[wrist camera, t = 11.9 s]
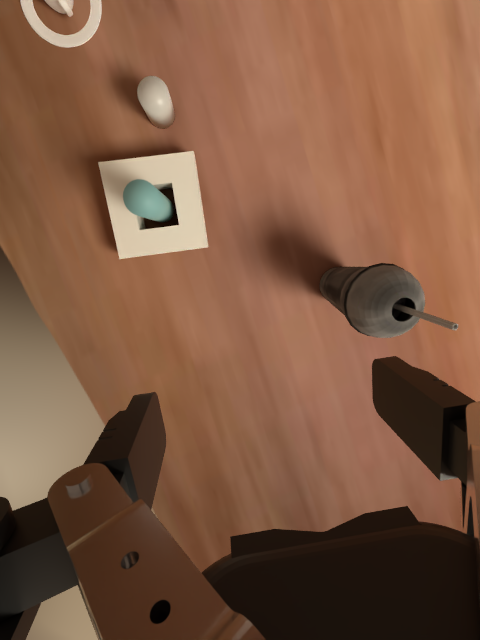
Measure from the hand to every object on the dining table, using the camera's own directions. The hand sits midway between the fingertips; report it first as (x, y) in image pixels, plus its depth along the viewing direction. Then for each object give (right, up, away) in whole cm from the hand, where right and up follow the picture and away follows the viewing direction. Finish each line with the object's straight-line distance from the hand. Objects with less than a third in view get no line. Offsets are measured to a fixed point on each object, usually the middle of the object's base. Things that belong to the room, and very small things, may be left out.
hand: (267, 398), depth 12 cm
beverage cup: (+12, +8, +30) cm, 33 cm away
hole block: (-11, +16, +26) cm, 32 cm away
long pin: (-10, +16, +26) cm, 32 cm away
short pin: (-10, +26, +24) cm, 36 cm away
